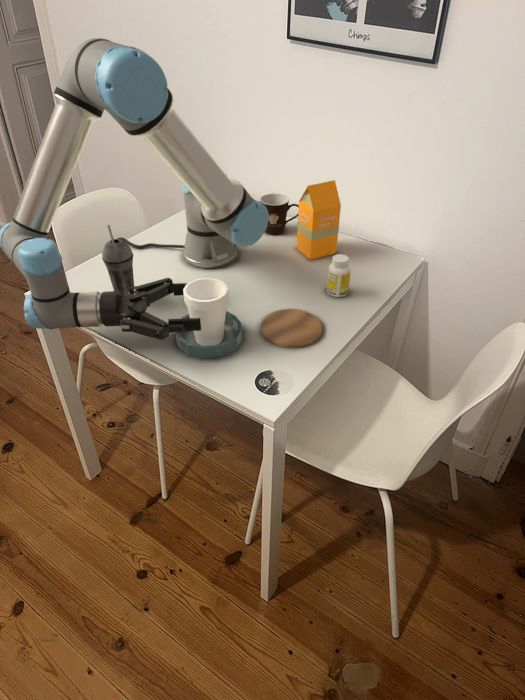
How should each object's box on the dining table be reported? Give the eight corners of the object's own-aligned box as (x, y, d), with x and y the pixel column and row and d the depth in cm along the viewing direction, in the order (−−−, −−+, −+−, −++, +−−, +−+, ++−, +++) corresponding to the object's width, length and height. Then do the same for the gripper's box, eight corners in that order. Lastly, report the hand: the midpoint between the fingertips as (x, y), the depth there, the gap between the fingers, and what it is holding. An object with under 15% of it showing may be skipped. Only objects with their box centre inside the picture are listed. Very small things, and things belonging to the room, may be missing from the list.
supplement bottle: (348, 287, 137) (352, 253, 131) (347, 298, 133) (351, 264, 127) (327, 285, 138) (330, 251, 131) (325, 296, 133) (329, 262, 127)
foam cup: (223, 353, 116) (220, 304, 108) (183, 348, 117) (177, 299, 109) (234, 328, 123) (232, 280, 115) (195, 323, 125) (191, 275, 116)
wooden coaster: (249, 330, 122) (249, 327, 122) (287, 304, 131) (287, 302, 130) (296, 356, 115) (296, 353, 115) (333, 327, 124) (334, 324, 123)
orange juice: (296, 248, 153) (299, 180, 140) (322, 241, 156) (327, 175, 144) (310, 260, 148) (314, 191, 135) (336, 253, 151) (343, 185, 138)
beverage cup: (145, 291, 135) (133, 218, 122) (131, 307, 130) (116, 232, 117) (120, 286, 137) (106, 214, 124) (105, 301, 132) (88, 227, 119)
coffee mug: (254, 232, 161) (254, 201, 154) (269, 221, 166) (269, 191, 160) (287, 241, 156) (288, 210, 150) (301, 230, 162) (303, 199, 155)
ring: (163, 339, 120) (162, 329, 118) (209, 311, 128) (208, 301, 126) (208, 367, 112) (208, 356, 110) (254, 336, 121) (254, 325, 119)
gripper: (114, 292, 125) (203, 289, 127) (95, 360, 106) (201, 355, 107) (108, 264, 121) (201, 261, 122) (87, 330, 101) (198, 326, 103)
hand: (201, 305), depth 115 cm, fingers open, 13 cm apart
